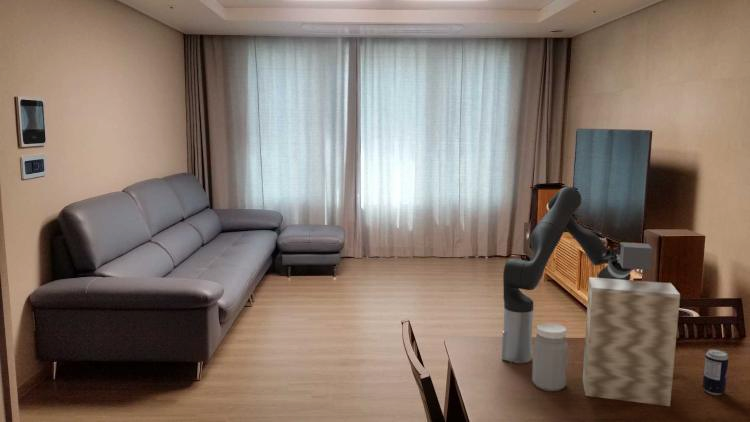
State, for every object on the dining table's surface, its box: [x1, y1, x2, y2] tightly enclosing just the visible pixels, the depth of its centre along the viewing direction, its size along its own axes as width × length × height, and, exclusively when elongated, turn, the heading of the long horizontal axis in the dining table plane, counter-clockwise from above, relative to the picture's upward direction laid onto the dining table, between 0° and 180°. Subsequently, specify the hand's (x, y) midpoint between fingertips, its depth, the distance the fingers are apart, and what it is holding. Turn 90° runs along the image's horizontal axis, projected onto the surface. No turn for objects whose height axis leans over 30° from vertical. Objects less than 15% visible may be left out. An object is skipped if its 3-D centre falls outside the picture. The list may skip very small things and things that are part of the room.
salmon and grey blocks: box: [619, 241, 653, 271], centre depth 164 cm, size 20×7×6 cm, turn 164°
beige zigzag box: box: [582, 276, 681, 407], centre depth 163 cm, size 22×11×32 cm, turn 74°
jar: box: [531, 322, 569, 392], centre depth 168 cm, size 10×10×18 cm
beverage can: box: [701, 348, 729, 396], centre depth 165 cm, size 6×6×12 cm
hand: (629, 247), depth 168 cm, fingers closed on salmon and grey blocks, 3 cm apart
